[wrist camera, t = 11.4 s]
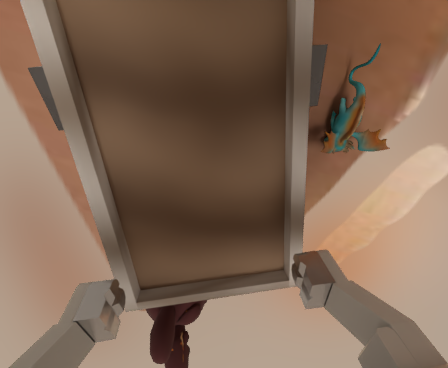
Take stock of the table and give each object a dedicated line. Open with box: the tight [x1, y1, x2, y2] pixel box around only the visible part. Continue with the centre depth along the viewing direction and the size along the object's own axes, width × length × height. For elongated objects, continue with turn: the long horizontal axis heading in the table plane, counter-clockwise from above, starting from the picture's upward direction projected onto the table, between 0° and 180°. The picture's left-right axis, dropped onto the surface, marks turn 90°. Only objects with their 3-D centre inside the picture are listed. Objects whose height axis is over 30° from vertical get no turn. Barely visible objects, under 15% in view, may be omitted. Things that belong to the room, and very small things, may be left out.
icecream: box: [146, 300, 207, 368], centre depth 22 cm, size 7×7×15 cm
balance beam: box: [20, 0, 314, 312], centre depth 11 cm, size 26×12×3 cm, turn 4°
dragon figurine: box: [321, 43, 389, 153], centre depth 20 cm, size 6×7×8 cm
